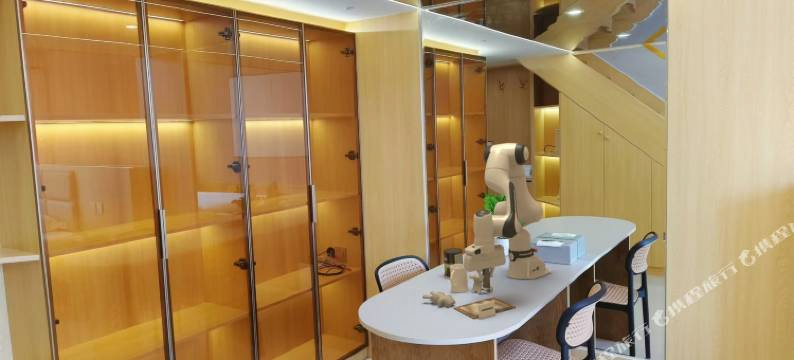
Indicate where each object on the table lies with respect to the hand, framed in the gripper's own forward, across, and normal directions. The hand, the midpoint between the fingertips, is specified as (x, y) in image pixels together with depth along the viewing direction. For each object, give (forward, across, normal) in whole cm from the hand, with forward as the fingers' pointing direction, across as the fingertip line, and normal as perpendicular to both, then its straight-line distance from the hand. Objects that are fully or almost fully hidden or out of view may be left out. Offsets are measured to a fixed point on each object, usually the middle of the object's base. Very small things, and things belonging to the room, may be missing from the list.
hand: (486, 277), depth 241 cm
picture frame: (+12, +4, +3) cm, 13 cm away
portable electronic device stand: (+12, -8, -17) cm, 23 cm away
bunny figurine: (+13, +16, -15) cm, 25 cm away
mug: (+12, 0, -25) cm, 28 cm away
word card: (+12, +9, +12) cm, 19 cm away
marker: (+4, 0, 0) cm, 4 cm away
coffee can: (+12, -12, -47) cm, 50 cm away
